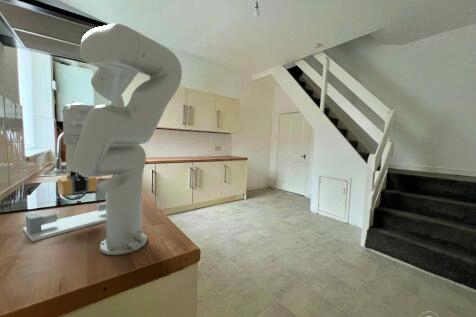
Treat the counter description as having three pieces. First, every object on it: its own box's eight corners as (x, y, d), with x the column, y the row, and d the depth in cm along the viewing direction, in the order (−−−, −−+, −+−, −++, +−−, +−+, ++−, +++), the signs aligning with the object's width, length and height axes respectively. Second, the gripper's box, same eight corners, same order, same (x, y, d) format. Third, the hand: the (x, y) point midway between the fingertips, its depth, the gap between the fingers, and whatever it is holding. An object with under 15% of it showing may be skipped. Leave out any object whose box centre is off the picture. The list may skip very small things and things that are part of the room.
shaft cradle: (124, 216, 83) (124, 202, 83) (32, 241, 61) (31, 222, 60) (110, 209, 90) (110, 196, 89) (23, 230, 67) (22, 212, 67)
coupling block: (96, 190, 77) (96, 175, 77) (63, 195, 69) (62, 178, 68) (90, 188, 80) (90, 173, 79) (58, 192, 71) (57, 176, 71)
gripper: (99, 141, 71) (99, 192, 73) (80, 139, 80) (80, 184, 82) (73, 141, 65) (74, 196, 66) (55, 139, 74) (57, 187, 76)
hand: (77, 189), depth 74 cm, fingers closed on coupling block, 5 cm apart
